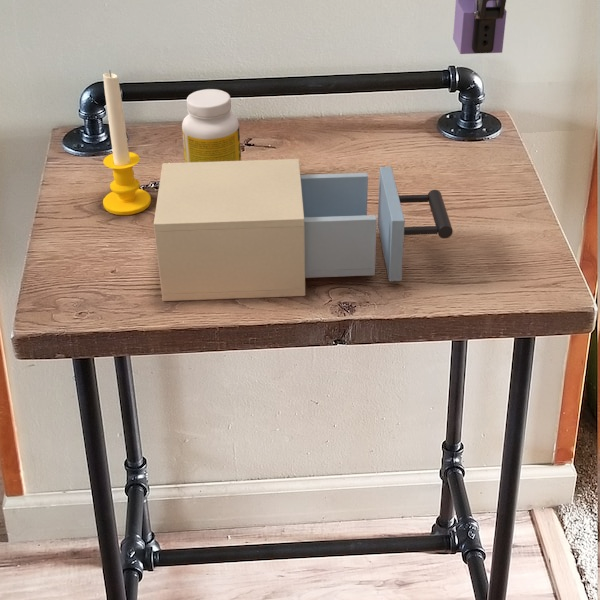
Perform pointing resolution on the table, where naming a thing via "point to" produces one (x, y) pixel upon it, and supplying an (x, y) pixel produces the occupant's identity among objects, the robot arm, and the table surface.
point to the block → (466, 24)
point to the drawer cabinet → (230, 230)
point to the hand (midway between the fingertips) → (477, 42)
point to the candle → (121, 158)
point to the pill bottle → (210, 128)
